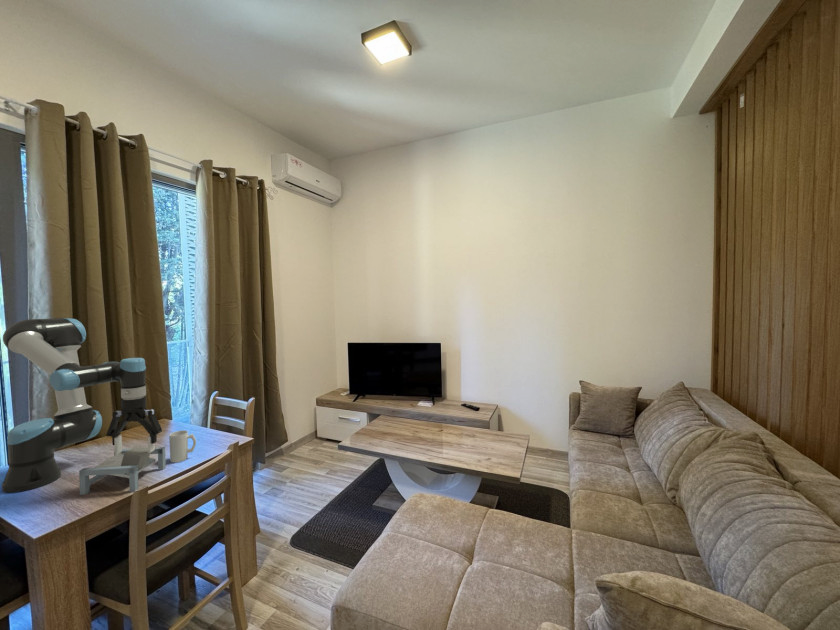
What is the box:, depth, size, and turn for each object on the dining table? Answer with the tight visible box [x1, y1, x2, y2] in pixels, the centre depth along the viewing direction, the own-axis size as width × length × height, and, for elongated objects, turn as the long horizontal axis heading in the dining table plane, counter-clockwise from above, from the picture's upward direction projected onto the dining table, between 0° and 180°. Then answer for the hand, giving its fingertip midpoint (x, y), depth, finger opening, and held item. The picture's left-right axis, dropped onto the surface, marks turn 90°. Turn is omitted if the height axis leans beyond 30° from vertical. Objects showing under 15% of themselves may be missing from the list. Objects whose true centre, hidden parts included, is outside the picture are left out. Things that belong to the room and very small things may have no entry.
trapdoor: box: [93, 453, 157, 479], centre depth 132 cm, size 14×14×1 cm
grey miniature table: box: [78, 446, 166, 496], centre depth 133 cm, size 18×18×9 cm
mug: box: [168, 430, 197, 463], centre depth 151 cm, size 10×7×12 cm, turn 109°
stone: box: [121, 445, 151, 470], centre depth 133 cm, size 6×6×6 cm
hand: (135, 452), depth 133 cm, fingers open, 11 cm apart
